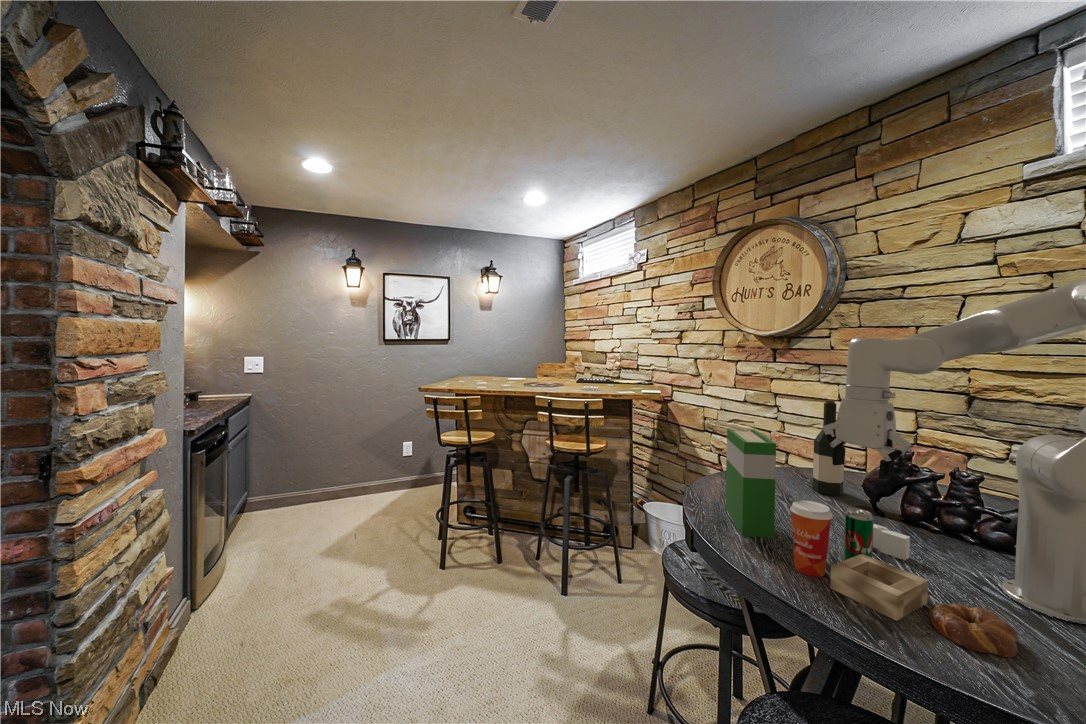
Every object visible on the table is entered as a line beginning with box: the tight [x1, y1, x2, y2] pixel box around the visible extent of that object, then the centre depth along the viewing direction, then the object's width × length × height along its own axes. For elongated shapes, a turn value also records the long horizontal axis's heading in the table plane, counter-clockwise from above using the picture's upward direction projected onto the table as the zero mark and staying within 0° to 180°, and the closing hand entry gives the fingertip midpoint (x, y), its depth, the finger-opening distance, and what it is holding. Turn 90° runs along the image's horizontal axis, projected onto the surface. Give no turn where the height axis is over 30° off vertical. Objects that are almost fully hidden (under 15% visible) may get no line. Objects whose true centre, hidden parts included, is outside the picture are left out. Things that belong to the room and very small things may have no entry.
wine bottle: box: [812, 399, 846, 497], centre depth 137 cm, size 8×8×30 cm
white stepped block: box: [873, 523, 911, 561], centre depth 99 cm, size 15×11×6 cm
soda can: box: [842, 507, 875, 561], centre depth 92 cm, size 5×5×12 cm
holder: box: [829, 554, 929, 622], centre depth 81 cm, size 11×11×4 cm
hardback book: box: [725, 427, 777, 539], centre depth 113 cm, size 18×7×24 cm, turn 169°
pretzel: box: [928, 602, 1019, 658], centre depth 70 cm, size 12×11×4 cm
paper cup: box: [789, 499, 834, 578], centre depth 90 cm, size 8×8×14 cm
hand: (860, 471), depth 92 cm, fingers open, 9 cm apart
